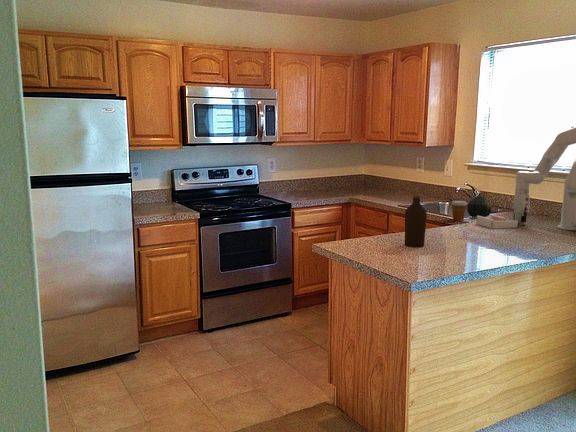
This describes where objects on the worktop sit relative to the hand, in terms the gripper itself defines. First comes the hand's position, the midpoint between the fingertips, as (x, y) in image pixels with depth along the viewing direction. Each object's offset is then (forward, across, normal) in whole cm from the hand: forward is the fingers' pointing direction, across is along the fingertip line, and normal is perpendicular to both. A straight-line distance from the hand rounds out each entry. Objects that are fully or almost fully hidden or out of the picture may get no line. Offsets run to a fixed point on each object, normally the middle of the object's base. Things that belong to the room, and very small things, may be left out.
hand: (519, 220), depth 310 cm
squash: (+2, +30, +8) cm, 31 cm away
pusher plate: (+2, 0, +15) cm, 15 cm away
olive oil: (+2, -38, +90) cm, 98 cm away
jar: (+2, 0, 0) cm, 2 cm away
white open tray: (+2, 0, +16) cm, 16 cm away
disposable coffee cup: (+2, +22, +28) cm, 36 cm away
